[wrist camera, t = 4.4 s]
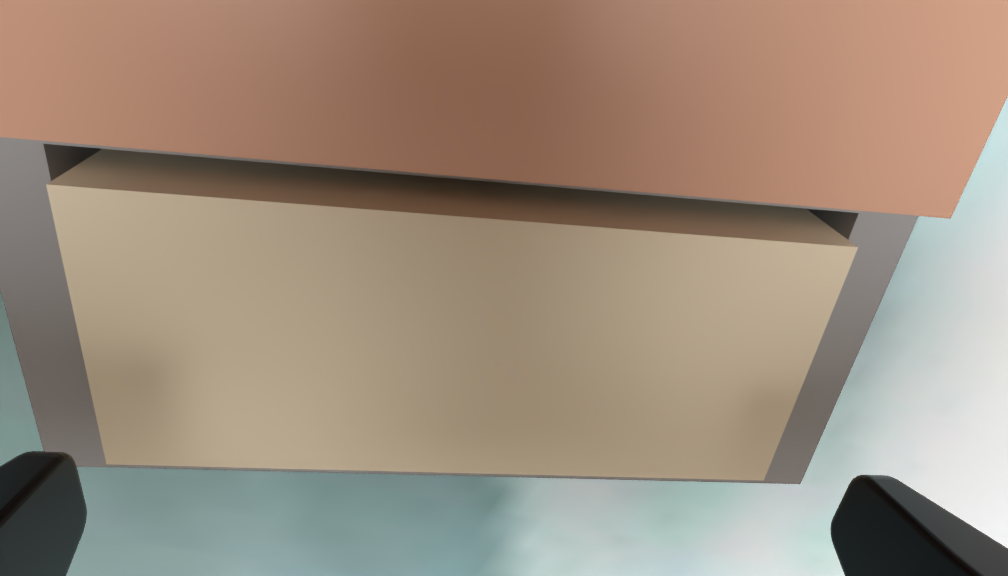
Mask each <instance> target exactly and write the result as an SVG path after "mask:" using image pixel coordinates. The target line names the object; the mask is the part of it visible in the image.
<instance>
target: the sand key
mask: <svg viewBox="0 0 1008 576" xmlns="http://www.w3.org/2000/svg"><path fill="white" fill-rule="evenodd" d="M46 187H47V191H48V196H49V201H50V205H51V210H52V214H53V219H54V224H55V228H56V233H57V238H58V242H59V247H60V252H61V256H62V261H63V266H64V270H65V275H66V279H67V284H68V289H69V293H70V298H71V303H72V307H73V312H74V317H75V321H76V326H77V331H78V335H79V340H80V344H81V349H82V354H83V358H84V363H85V368H86V372H87V377H88V382H89V386H90V391H91V396H92V400H93V405H94V409H95V414H96V419H97V423H98V428H99V433H100V437H101V442H102V447H103V451H104V456H105V461H106V464H112V465H153V466H193V467H233V468H274V469H314V470H355V471H395V472H435V473H476V474H516V475H557V476H597V477H638V478H678V479H718V480H759V481H764V479H765V476H766V474H767V471H768V469H769V466H770V464H771V461H772V459H773V457H774V454H775V452H776V449H777V447H778V444H779V442H780V439H781V437H782V434H783V432H784V429H785V427H786V424H787V422H788V420H789V417H790V415H791V412H792V410H793V407H794V405H795V402H796V400H797V397H798V395H799V392H800V390H801V387H802V385H803V383H804V380H805V378H806V375H807V373H808V370H809V368H810V365H811V363H812V360H813V358H814V355H815V353H816V350H817V348H818V345H819V343H820V341H821V338H822V336H823V333H824V331H825V328H826V326H827V323H828V321H829V318H830V316H831V313H832V311H833V308H834V306H835V304H836V301H837V299H838V296H839V294H840V291H841V289H842V286H843V284H844V281H845V279H846V276H847V274H848V271H849V269H850V267H851V264H852V262H853V259H854V257H855V254H856V252H857V249H858V247H857V246H856V245H854V244H853V243H852V242H850V241H849V240H848V239H846V238H845V237H844V236H842V235H841V234H839V233H838V232H837V231H835V230H834V229H833V228H831V227H830V226H829V225H827V224H826V223H825V222H823V221H822V220H821V219H819V218H818V217H816V216H815V215H814V214H812V213H811V212H810V211H808V210H807V209H805V208H793V207H782V206H770V205H758V204H746V203H735V202H723V201H711V200H699V199H688V198H676V197H664V196H652V195H641V194H629V193H617V192H605V191H594V190H582V189H570V188H558V187H547V186H535V185H523V184H511V183H500V182H488V181H476V180H464V179H453V178H441V177H429V176H417V175H406V174H394V173H382V172H370V171H359V170H347V169H335V168H323V167H312V166H300V165H288V164H276V163H265V162H253V161H241V160H229V159H218V158H206V157H194V156H182V155H171V154H159V153H147V152H135V151H124V150H112V149H101V150H100V151H98V152H97V153H95V154H94V155H92V156H90V157H89V158H87V159H86V160H84V161H82V162H81V163H79V164H78V165H76V166H75V167H73V168H71V169H70V170H68V171H67V172H65V173H63V174H62V175H60V176H59V177H57V178H56V179H54V180H52V181H51V182H49V183H48V184H46Z"/></svg>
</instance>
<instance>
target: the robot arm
mask: <svg viewBox="0 0 1008 576" xmlns="http://www.w3.org/2000/svg"><path fill="white" fill-rule="evenodd" d="M86 516H87V510H86V504H85V500H84V495H83V491H82V487H81V483H80V479H79V475H78V471H77V467H76V463H75V461H74V459H73V457H72V456H71V455H70V454H68V453H64V452H41V451H32V452H26V453H23V454H21V455H19V456H17V457H15V458H13V459H12V460H10V461H8V462H7V463H5V464H3V465H2V466H0V576H66V574H67V572H68V569H69V567H70V564H71V562H72V559H73V557H74V554H75V552H76V549H77V546H78V544H79V541H80V539H81V536H82V534H83V531H84V527H85V523H86ZM831 538H832V542H833V545H834V548H835V550H836V553H837V556H838V558H839V561H840V564H841V566H842V569H843V572H844V574H845V576H1008V548H1006V547H1004V546H1003V545H1001V544H1000V543H998V542H996V541H995V540H993V539H992V538H990V537H988V536H987V535H985V534H984V533H982V532H980V531H979V530H977V529H976V528H974V527H972V526H971V525H969V524H968V523H966V522H964V521H963V520H961V519H960V518H958V517H956V516H955V515H953V514H951V513H950V512H948V511H947V510H945V509H943V508H942V507H940V506H939V505H937V504H935V503H934V502H932V501H931V500H929V499H927V498H926V497H924V496H923V495H921V494H919V493H918V492H916V491H915V490H913V489H911V488H910V487H908V486H907V485H905V484H903V483H902V482H900V481H899V480H897V479H895V478H893V477H890V476H884V475H860V476H857V477H856V478H854V479H853V480H852V481H851V483H850V484H849V486H848V488H847V490H846V492H845V494H844V497H843V499H842V501H841V503H840V505H839V507H838V509H837V511H836V513H835V515H834V517H833V519H832V522H831Z"/></svg>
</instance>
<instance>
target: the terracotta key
mask: <svg viewBox="0 0 1008 576" xmlns="http://www.w3.org/2000/svg"><path fill="white" fill-rule="evenodd" d="M1007 96H1008V0H0V137H5V138H17V139H28V140H40V141H52V142H63V143H75V144H87V145H98V146H110V147H122V148H133V149H145V150H157V151H168V152H180V153H192V154H204V155H215V156H227V157H239V158H250V159H262V160H274V161H285V162H297V163H309V164H320V165H332V166H344V167H355V168H367V169H379V170H390V171H402V172H414V173H425V174H437V175H449V176H460V177H472V178H484V179H495V180H507V181H519V182H530V183H542V184H554V185H566V186H577V187H589V188H601V189H612V190H624V191H636V192H647V193H659V194H671V195H682V196H694V197H706V198H717V199H729V200H741V201H752V202H764V203H776V204H787V205H799V206H811V207H822V208H834V209H846V210H857V211H869V212H881V213H892V214H904V215H916V216H928V217H939V218H951V216H952V214H953V212H954V210H955V208H956V206H957V203H958V201H959V199H960V197H961V195H962V193H963V191H964V188H965V186H966V184H967V182H968V180H969V178H970V176H971V173H972V171H973V169H974V167H975V165H976V163H977V161H978V158H979V156H980V154H981V152H982V150H983V148H984V146H985V143H986V141H987V139H988V137H989V135H990V133H991V131H992V128H993V126H994V124H995V122H996V120H997V118H998V116H999V113H1000V111H1001V109H1002V107H1003V105H1004V103H1005V101H1006V98H1007Z"/></svg>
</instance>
